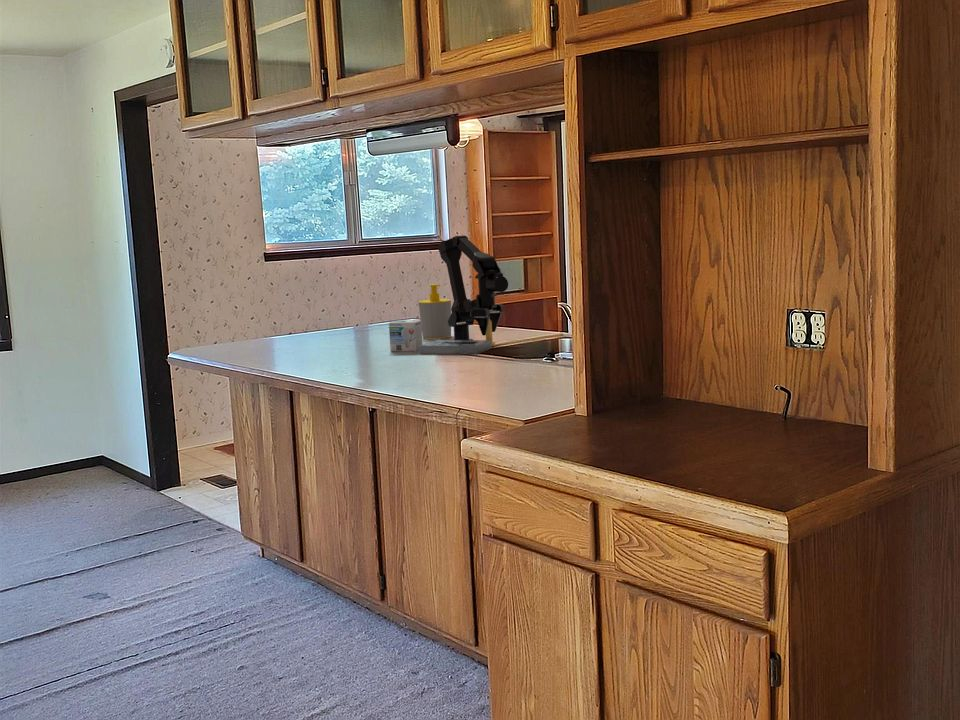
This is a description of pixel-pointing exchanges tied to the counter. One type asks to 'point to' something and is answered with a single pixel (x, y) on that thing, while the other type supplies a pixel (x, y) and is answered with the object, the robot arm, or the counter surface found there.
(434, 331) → the soap bottle
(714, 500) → the counter surface
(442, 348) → the keyhole plate
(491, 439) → the counter surface
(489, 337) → the headed peg
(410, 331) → the light bulb box
